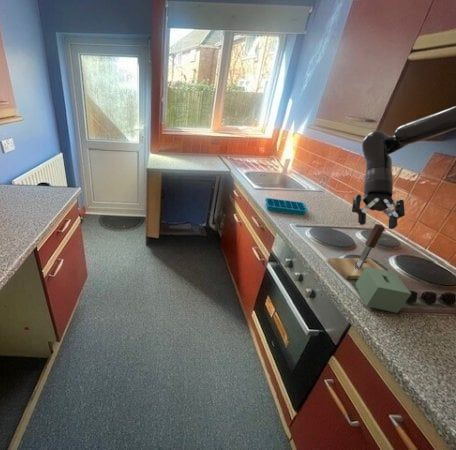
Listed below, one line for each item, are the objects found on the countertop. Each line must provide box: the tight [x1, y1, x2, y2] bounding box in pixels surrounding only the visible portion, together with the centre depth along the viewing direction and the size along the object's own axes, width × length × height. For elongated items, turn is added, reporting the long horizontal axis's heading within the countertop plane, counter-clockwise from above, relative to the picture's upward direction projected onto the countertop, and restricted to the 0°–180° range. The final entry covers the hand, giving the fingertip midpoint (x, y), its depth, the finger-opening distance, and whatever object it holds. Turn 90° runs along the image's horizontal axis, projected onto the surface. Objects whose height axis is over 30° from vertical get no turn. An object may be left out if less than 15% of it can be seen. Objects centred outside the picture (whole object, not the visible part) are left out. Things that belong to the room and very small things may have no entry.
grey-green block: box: [354, 267, 412, 314], centre depth 78 cm, size 10×8×8 cm
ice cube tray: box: [264, 197, 309, 216], centre depth 135 cm, size 12×20×3 cm, turn 73°
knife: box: [357, 223, 386, 268], centre depth 87 cm, size 3×2×17 cm
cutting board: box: [327, 257, 385, 280], centre depth 92 cm, size 16×10×2 cm, turn 92°
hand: (377, 226), depth 85 cm, fingers open, 8 cm apart
